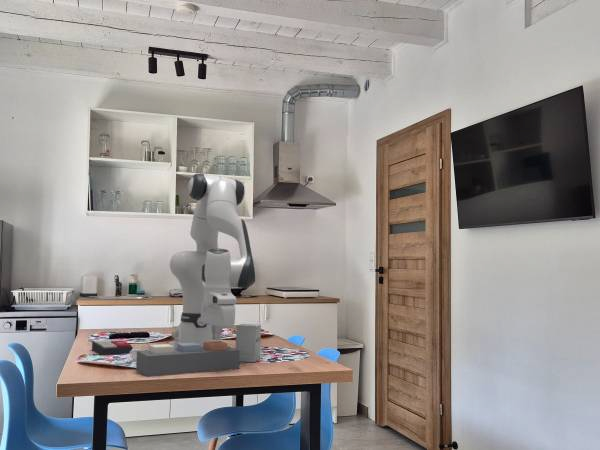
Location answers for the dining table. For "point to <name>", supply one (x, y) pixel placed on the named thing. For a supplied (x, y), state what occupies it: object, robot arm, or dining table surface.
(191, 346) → the slate key
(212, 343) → the terracotta key
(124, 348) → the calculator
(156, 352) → the cream key
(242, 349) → the supplement box
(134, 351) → the white curved piece
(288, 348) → the dining table surface
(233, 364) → the key console
